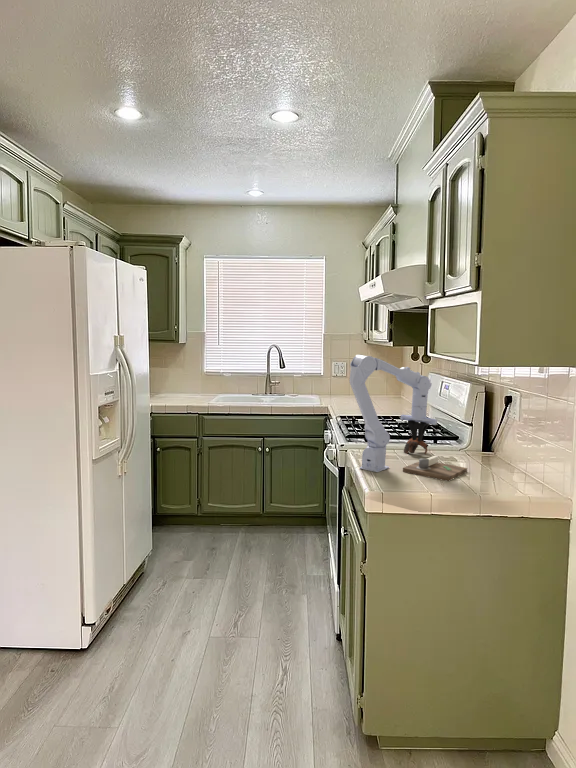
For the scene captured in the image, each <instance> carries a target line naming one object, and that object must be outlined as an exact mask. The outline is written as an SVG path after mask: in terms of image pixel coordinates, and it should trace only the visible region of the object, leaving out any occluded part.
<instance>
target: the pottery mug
mask: <svg viewBox="0 0 576 768" xmlns="http://www.w3.org/2000/svg"><path fill="white" fill-rule="evenodd" d="M419 446H420V447H422V448H423V449H424V455H426V454H427V452H428V447H429V444H428V443H427V442H425V441H424V440H422V441H418V437H417V439H416V440H413V439H412V438H409V439H408V440H407V442H406V443H405V446H404V448H403V452H404V453H405V454H406V455H408V454H409V453H410V454H415V452H416V449H417V448H418V447H419Z"/></svg>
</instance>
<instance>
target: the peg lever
mask: <svg viewBox="0 0 576 768" xmlns="http://www.w3.org/2000/svg"><path fill="white" fill-rule="evenodd" d="M418 462H419V467H420V468H428V467H429V466H430V465H433V464H435V463H437V462H438V463H439V456H438V455H433V456H430V457H428V458H425V457H421V458H418Z"/></svg>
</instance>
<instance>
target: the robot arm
mask: <svg viewBox="0 0 576 768" xmlns="http://www.w3.org/2000/svg"><path fill="white" fill-rule="evenodd" d="M349 366H350V373H349V385H350V387H351V389H352V392H353V395H354V398H355V400H356V403H357V405H358V408H359V410H360V413H361V416H362V418H363V421H364V423H365V424H364V426H363V428H364V431H365V432H364V437H365V440H366V441H367V445H366V448H364V449H363V451H362V453H361V466H359V469H360V470H361V469H362V470H366V471H370V472H375V473H379V472H381V471H384V470H387V469H390V466H388V465H386V460H387V459H386V458H387V445H388V444H389V442H390V439H391V436H390V434H389V432H388V431H387V430H386V429H385V426H384V425H383V424H382V422H381V421H380V420H379V417H378V415H377V412H376V411H377V410H376V409H375V407H374V404H373V401H372V398H371V395H370V393H369V391H368V388H367V385H366V382H367V379H368V378H369V377H370V376H371V375H372V374H373V373H374V372H375V371H383V372H385V373H386V374H390V375H392V376H394V377H395V379H396V380H397V381H398V382H401V383H403V384H404V385H406V386H408V387H411V388H412V399H411V411H410V412H411V413H410V414H401V415H400V420H401V421H407V425H408V428H409V430H410V434H411V439H413V440H416V439H417V438H418V441H423V438H424V434H425V432H426V430H427V429H428V427H429V426H430V425H434V426H436V425H438V419H436V418H432V417H427V409H428V395H429V391H430V389H431V387H432V382H431V380H430V378H429V377H428V376H427V375H422V374H421V372H419V371H414V370H411V368H410V367H409V366H402V367H400V368H399V367H397V366H395V365H393V364H391V363H389V362H387V361H385V360H382V358H378V357H374V356H371V355H363V354H356V355H355V356H354V357H353V358H352V360H351V361H350V362H349Z"/></svg>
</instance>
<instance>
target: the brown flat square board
mask: <svg viewBox="0 0 576 768" xmlns="http://www.w3.org/2000/svg"><path fill="white" fill-rule="evenodd" d="M402 472H403V473H407V474H413V475H417V476H422V477H427V478H430V479H435V478H437V480H440V479H442V480H441V481H445V480H447V481H446V482H450V481H451V479H452V480H453V478H454V479H456V478H457V477H460V476H462V475H464V474H466V473H468V467H463V466H459V465H453V464H447V463H443V462H439V461H438V462H437V463H435V464H433V465H430V466H429V467H428V468H420V467H419V461H417V462H414V463H412V464H409V465H406V466H404V467H402ZM455 477H456V478H455ZM449 480H450V481H449Z"/></svg>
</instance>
